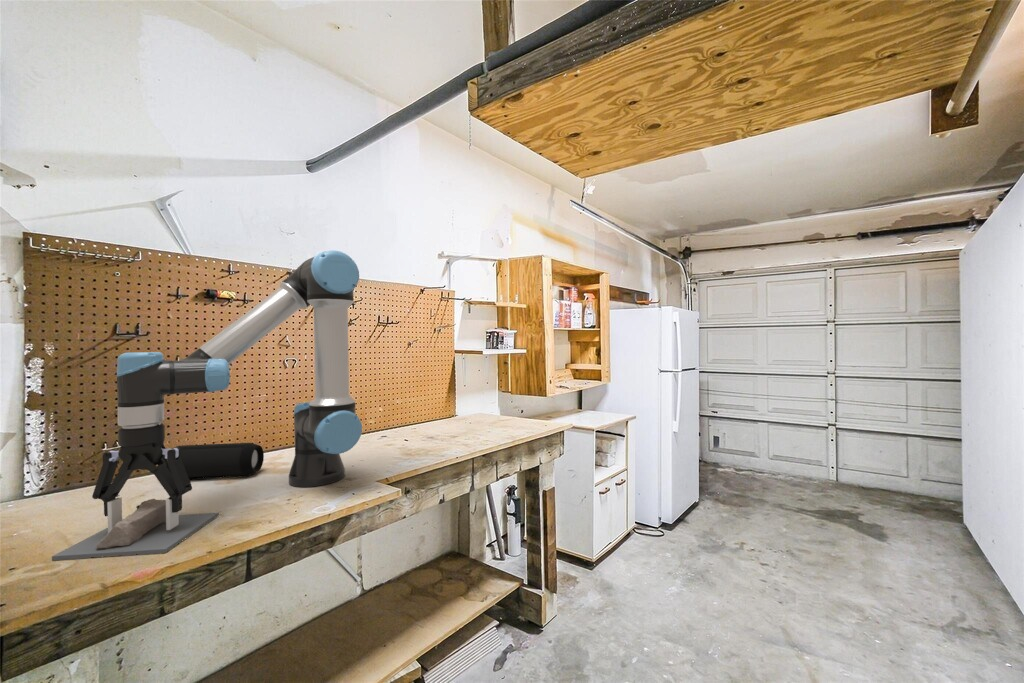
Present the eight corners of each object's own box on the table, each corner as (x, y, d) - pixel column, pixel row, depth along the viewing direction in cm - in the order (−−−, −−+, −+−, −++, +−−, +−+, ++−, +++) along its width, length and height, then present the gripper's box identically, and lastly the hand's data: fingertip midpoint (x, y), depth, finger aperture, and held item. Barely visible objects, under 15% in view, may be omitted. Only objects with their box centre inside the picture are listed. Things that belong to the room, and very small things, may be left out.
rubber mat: (218, 515, 102) (218, 512, 102) (165, 553, 84) (165, 549, 84) (126, 521, 100) (126, 517, 100) (51, 560, 82) (51, 556, 82)
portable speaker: (265, 470, 139) (264, 439, 138) (249, 480, 129) (249, 446, 129) (180, 474, 136) (179, 442, 136) (157, 484, 126) (156, 450, 126)
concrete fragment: (88, 550, 84) (87, 518, 84) (156, 519, 98) (155, 493, 98) (119, 551, 83) (118, 519, 83) (184, 520, 97) (183, 493, 97)
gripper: (210, 419, 97) (212, 518, 97) (97, 423, 94) (99, 524, 94) (188, 426, 89) (191, 533, 89) (65, 430, 87) (68, 540, 87)
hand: (144, 529), depth 92 cm, fingers open, 10 cm apart
